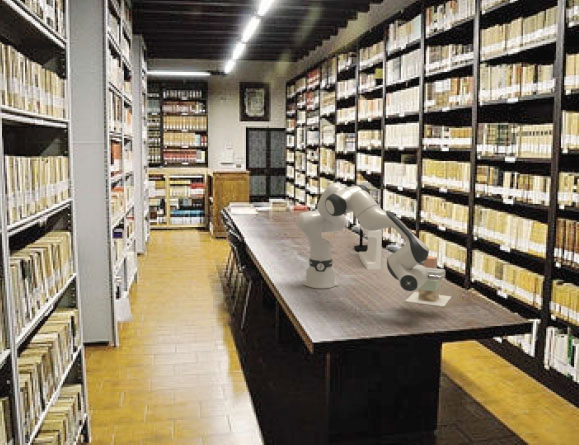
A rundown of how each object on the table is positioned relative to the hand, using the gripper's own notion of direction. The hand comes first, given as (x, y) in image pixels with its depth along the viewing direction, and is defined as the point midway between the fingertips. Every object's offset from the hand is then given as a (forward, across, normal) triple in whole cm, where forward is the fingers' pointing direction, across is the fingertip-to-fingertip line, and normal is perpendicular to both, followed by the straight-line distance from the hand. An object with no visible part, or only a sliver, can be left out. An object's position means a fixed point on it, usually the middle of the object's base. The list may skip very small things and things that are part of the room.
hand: (425, 268), depth 252 cm
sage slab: (+11, 0, +12) cm, 16 cm away
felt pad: (+11, 0, +17) cm, 20 cm away
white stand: (+75, +51, +17) cm, 92 cm away
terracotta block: (+11, 0, +7) cm, 13 cm away
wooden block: (+11, 0, +17) cm, 20 cm away
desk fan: (+113, +64, +17) cm, 131 cm away
